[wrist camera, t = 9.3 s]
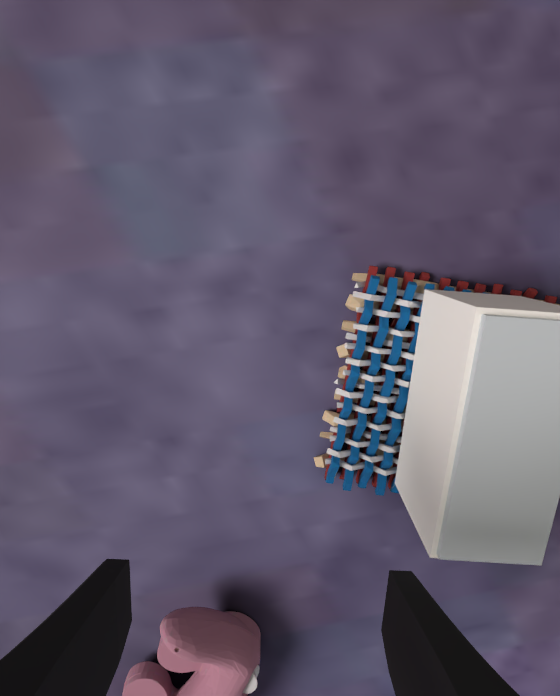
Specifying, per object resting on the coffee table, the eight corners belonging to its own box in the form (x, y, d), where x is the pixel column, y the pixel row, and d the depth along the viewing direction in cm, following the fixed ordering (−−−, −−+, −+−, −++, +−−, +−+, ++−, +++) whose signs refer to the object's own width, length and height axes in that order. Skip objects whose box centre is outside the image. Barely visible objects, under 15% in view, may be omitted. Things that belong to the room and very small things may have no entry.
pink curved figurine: (82, 686, 24) (184, 741, 26) (44, 779, 20) (169, 841, 21) (183, 558, 23) (285, 621, 25) (167, 627, 19) (292, 700, 20)
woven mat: (573, 294, 20) (605, 301, 18) (506, 495, 22) (527, 520, 20) (351, 257, 19) (359, 259, 17) (309, 466, 22) (312, 489, 20)
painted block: (520, 296, 18) (612, 317, 13) (479, 488, 20) (545, 570, 15) (424, 289, 18) (481, 308, 13) (394, 483, 20) (432, 563, 15)
